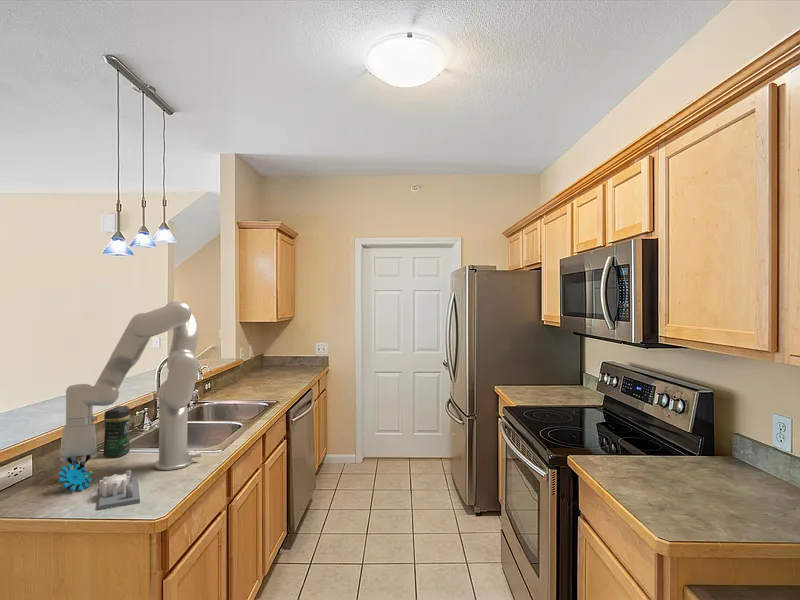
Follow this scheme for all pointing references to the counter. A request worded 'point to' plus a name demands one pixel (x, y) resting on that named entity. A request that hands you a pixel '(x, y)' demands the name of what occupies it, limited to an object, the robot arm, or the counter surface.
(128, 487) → the carrier plate
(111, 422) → the coffee jar
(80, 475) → the gear
